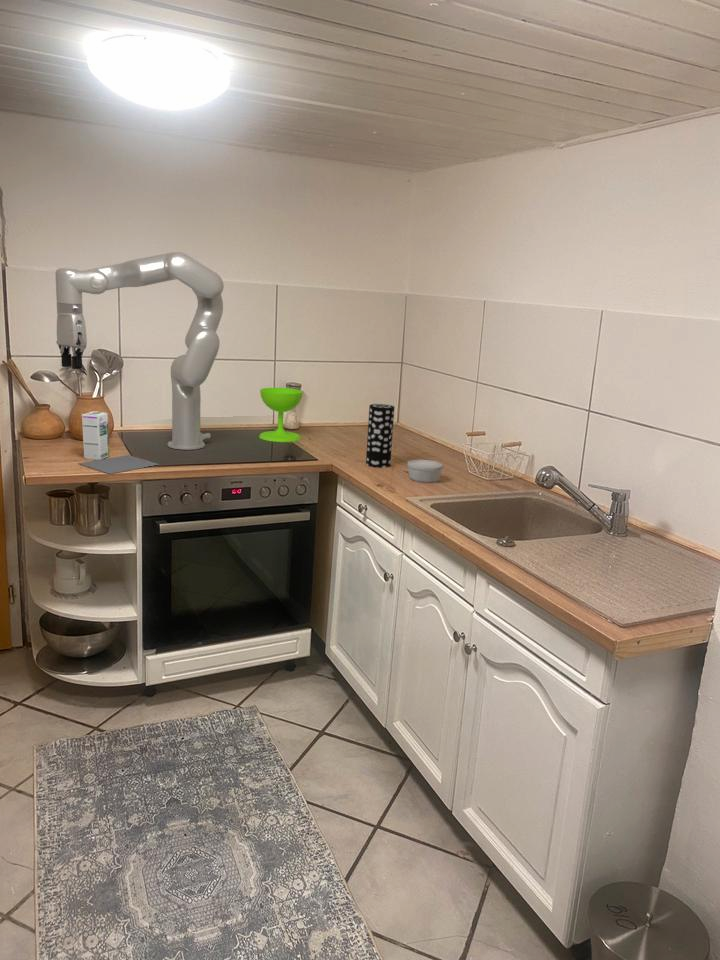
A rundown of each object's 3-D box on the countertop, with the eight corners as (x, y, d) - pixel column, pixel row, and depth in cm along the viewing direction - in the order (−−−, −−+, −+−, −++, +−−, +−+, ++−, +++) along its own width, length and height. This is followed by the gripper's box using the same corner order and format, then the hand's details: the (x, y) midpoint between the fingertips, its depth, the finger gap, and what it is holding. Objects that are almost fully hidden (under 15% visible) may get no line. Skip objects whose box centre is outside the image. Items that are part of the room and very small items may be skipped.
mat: (128, 455, 243) (128, 455, 243) (159, 465, 234) (159, 464, 234) (78, 464, 229) (78, 463, 229) (109, 474, 220) (109, 473, 220)
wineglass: (250, 435, 287) (251, 388, 282) (284, 431, 297) (285, 386, 293) (275, 443, 275) (277, 394, 271) (309, 439, 286) (311, 392, 281)
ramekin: (419, 473, 245) (420, 457, 243) (448, 480, 238) (449, 464, 236) (399, 478, 236) (400, 462, 235) (428, 486, 229) (429, 469, 228)
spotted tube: (373, 468, 247) (377, 408, 242) (361, 462, 254) (365, 404, 249) (394, 467, 250) (399, 407, 245) (382, 461, 258) (386, 403, 253)
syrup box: (100, 460, 235) (98, 415, 232) (83, 458, 236) (81, 413, 233) (109, 456, 241) (108, 412, 237) (92, 454, 242) (91, 410, 238)
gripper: (96, 311, 232) (98, 370, 237) (65, 307, 242) (67, 364, 247) (74, 311, 226) (76, 371, 231) (43, 307, 236) (46, 365, 241)
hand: (71, 367), depth 239 cm, fingers open, 5 cm apart
